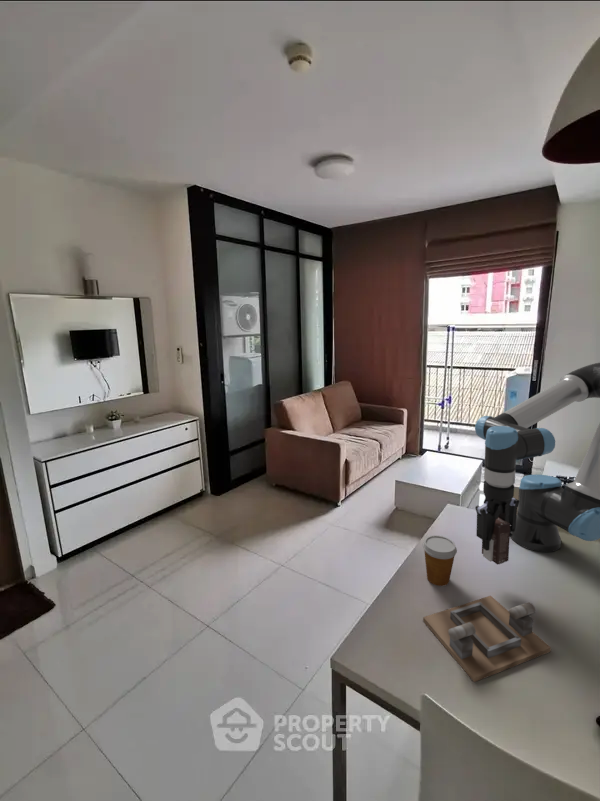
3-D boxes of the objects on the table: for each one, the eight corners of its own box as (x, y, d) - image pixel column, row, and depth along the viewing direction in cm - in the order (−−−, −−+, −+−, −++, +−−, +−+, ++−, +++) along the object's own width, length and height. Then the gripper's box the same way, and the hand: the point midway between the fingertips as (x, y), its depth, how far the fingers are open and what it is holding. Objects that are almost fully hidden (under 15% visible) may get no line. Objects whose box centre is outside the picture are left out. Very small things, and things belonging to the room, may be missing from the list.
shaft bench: (492, 598, 105) (494, 574, 104) (553, 650, 88) (556, 623, 87) (420, 621, 98) (421, 596, 97) (471, 683, 81) (473, 654, 80)
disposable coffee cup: (457, 591, 108) (460, 554, 106) (423, 588, 110) (424, 551, 108) (451, 570, 117) (453, 535, 115) (419, 567, 119) (421, 533, 117)
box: (509, 560, 108) (511, 523, 105) (497, 565, 106) (498, 527, 103) (492, 549, 113) (493, 513, 110) (480, 553, 112) (481, 516, 109)
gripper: (511, 471, 110) (507, 542, 115) (463, 482, 105) (460, 556, 110) (534, 481, 103) (528, 556, 108) (484, 494, 98) (480, 572, 103)
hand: (494, 556), depth 109 cm, fingers closed on box, 4 cm apart
